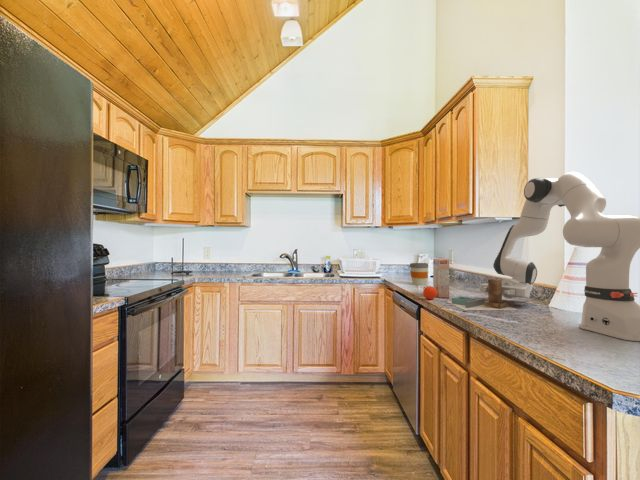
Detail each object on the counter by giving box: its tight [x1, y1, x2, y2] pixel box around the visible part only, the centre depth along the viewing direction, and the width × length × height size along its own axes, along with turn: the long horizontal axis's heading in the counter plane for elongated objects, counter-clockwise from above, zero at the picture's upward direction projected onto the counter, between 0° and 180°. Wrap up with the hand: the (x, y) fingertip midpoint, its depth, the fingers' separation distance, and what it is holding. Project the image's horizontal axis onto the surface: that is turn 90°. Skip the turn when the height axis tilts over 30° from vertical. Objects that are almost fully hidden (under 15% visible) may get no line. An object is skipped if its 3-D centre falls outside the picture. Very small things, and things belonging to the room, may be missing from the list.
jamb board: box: [446, 298, 519, 313], centre depth 146 cm, size 20×23×4 cm
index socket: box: [451, 296, 477, 305], centre depth 151 cm, size 8×8×2 cm
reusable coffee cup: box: [409, 262, 429, 286], centre depth 228 cm, size 13×13×15 cm
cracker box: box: [432, 257, 450, 299], centre depth 178 cm, size 14×6×21 cm, turn 171°
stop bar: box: [487, 278, 503, 304], centre depth 143 cm, size 4×4×12 cm
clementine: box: [422, 285, 437, 301], centre depth 168 cm, size 8×7×7 cm
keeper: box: [484, 301, 510, 309], centre depth 143 cm, size 7×8×2 cm
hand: (494, 291), depth 143 cm, fingers open, 8 cm apart
